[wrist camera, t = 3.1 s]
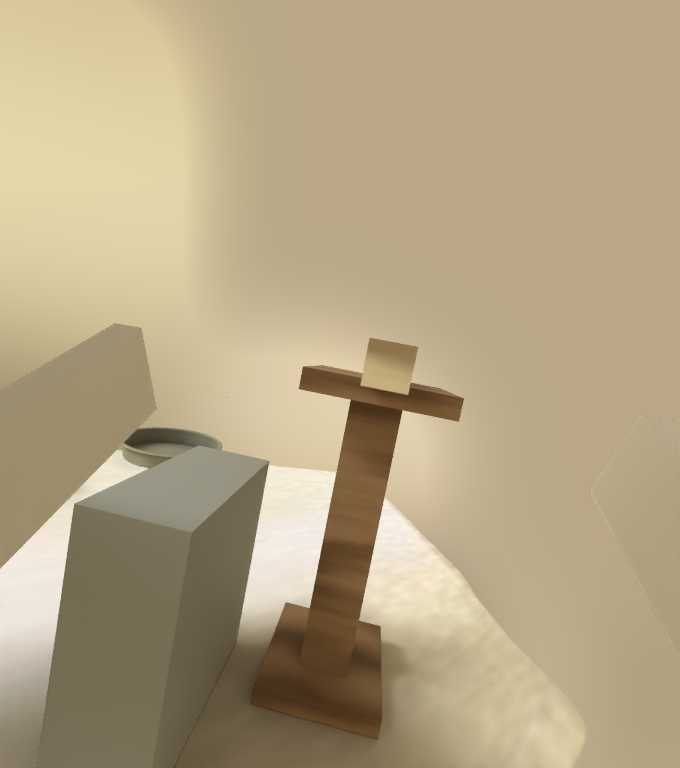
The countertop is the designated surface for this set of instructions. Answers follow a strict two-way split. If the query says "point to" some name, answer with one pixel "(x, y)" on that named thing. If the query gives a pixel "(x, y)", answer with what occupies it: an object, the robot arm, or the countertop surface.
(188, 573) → the slate block
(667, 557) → the robot arm
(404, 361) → the birch bar
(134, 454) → the cake pan
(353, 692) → the walnut stand
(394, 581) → the countertop surface
